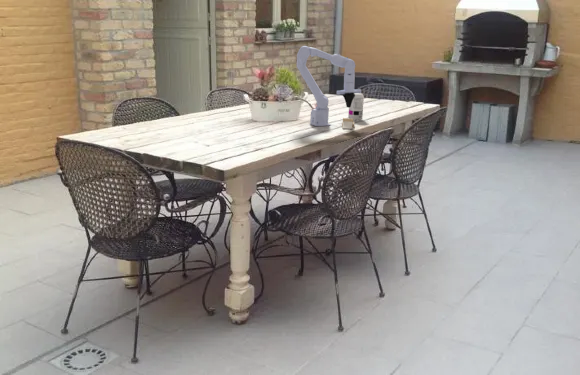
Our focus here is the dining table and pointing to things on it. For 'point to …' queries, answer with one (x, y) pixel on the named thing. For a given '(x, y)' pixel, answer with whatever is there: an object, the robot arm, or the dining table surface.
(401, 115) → the dining table surface
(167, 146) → the dining table surface
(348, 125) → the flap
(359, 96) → the supplement can
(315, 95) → the robot arm
